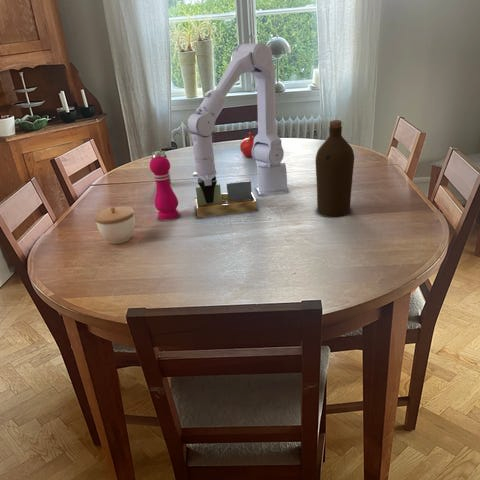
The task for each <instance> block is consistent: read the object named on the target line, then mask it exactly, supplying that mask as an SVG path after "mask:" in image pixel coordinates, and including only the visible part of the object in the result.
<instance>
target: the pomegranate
mask: <svg viewBox="0 0 480 480" xmlns="http://www.w3.org/2000/svg"><path fill="white" fill-rule="evenodd" d="M255 136H256V134H255V135H254V134H253V136H252V132H251V131H250V132H248V135H247V136H243V137H242V140H241V142H240V146H239V147H240V152H241V154H242V155H243V156H244V157H245V158H253V157H252V148H253V144H254V138H255Z"/></svg>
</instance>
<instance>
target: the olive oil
mask: <svg viewBox="0 0 480 480" xmlns="http://www.w3.org/2000/svg"><path fill="white" fill-rule="evenodd" d="M342 122H343V121H342V120H337V119H335V120H330V121H329V127H328V137H327V138H326V139H325V140H324V142H323V143H321V145H320V146H319V147H318V149H317V150H316V151H317V152H316V154H315V177H316V204H317V205H316V206H317V208H316V209H317V213H318V214H319V215H321V216H324V217H329V218H331V217H333V218H336V217H341V216H345V215H348V214H349V213H350V210H351V201H352V187H353V178H354V177H353V175H354V166H355V153H354V150H353V148H352V146H351V144H350V143H348V141H347V140H346V139H345V137H343V135H342V133H343V132H342V131H343V126H342Z"/></svg>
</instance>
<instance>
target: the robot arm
mask: <svg viewBox="0 0 480 480" xmlns="http://www.w3.org/2000/svg"><path fill="white" fill-rule="evenodd" d="M246 73H250V74H252V75H253V76H254V77H255V78H256V91H257V92H256V96H257V98H256V99H257V101H256V102H257V105H256V106H257V134H255V136H254V137H255V138H254V144H253V148H252V157H251V158H253V160H254V161H255V165H256V168H257V184H258V186H256V188H255V189H256V191H257V193H258V195H259V196H265V195H272V194H273V195H274V194H279V193H288V175H287V174H288V172H287V166H286V162H282V161H283V159H284V155H285V151H284V149H283V146H282V139H281V138H280V137H279V135H278V134H277V133H276V68H275V65H274V62H273V50H272V49H271V48H270V47H269V46H268V45H267V44H265V43H264V42H258V43H256V42H255V43H246V42H241V43H239V44H238V45H237V46H236V47H235V49H234V51H233V52H232V53H231V56H230V62H229V63H228V65H227V67H226V69H225V70H224V72H223V74H222V76H221V78H220V80H219V81H218V83H217V84H216V87H215V88H214V89H210V90H209V91H206V92H205V94H204V99H203V100H202V102H201V103H200V105H199V106H198V107H197V108H196V110H195V113H194V112H193V114H190V115H189V117H188V119H187V124H186V125H185V128H186V130H187V131H188V133H189V134H190V137H191V140H192V141H191V142H192V148H193V149H192V150H193V155H194V164H195V169H196V170H195V171H196V172H193V173H192V177H197V184H198V187H201V189H202V191H203V194H204V197H205V200H206V203H213V201H214V189H215V186H216V185H217V184H218V181H217V170H216V164H215V163H216V162H215V153H214V146H213V136H212V134H213V132H214V131H215V128H216V122H217V118H218V117H219V115H220V114H221V112H222V110H223V109H224V107H225V106H226V104H227V97H226V96H227V95H228V93H230V91H231V89H232V88H233V87H234V85H235V84H236V82H237V81H238V80H239V79H240V77H241V76H242V75H243V74H246Z"/></svg>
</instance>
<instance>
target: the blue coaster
mask: <svg viewBox="0 0 480 480" xmlns="http://www.w3.org/2000/svg"><path fill="white" fill-rule="evenodd" d="M225 185H226V193H227V194H228V202H232V201H240V200H248V199H252V193H253V190H252V181H251V180H243V181H234V182H227V183H226V184H225Z"/></svg>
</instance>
